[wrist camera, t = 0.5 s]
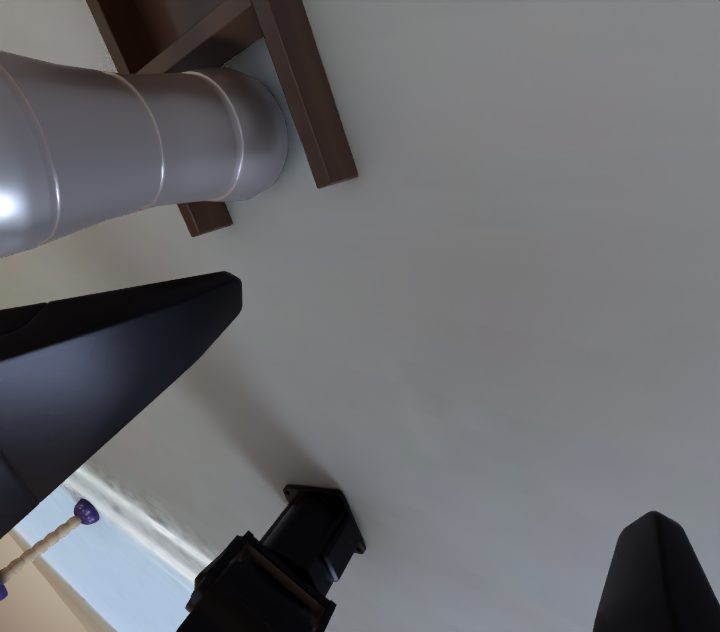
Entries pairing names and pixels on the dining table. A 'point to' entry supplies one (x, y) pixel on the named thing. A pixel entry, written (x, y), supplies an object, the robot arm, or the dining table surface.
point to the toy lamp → (49, 541)
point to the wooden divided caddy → (216, 46)
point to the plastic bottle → (126, 144)
